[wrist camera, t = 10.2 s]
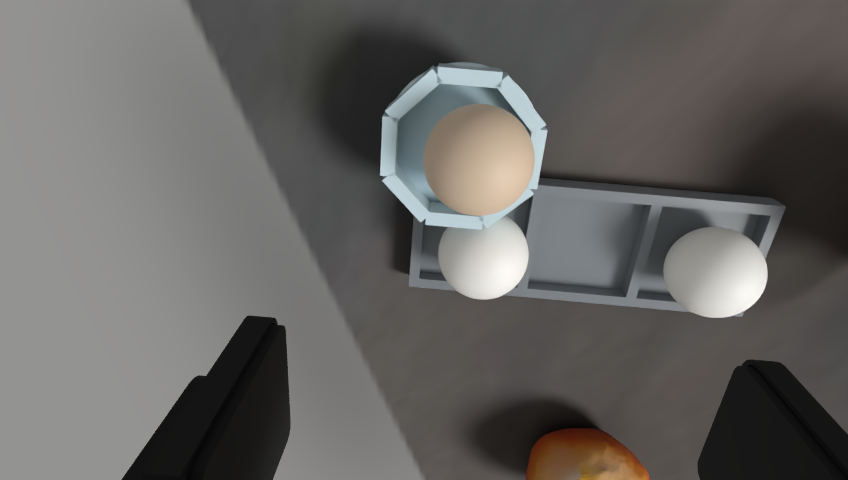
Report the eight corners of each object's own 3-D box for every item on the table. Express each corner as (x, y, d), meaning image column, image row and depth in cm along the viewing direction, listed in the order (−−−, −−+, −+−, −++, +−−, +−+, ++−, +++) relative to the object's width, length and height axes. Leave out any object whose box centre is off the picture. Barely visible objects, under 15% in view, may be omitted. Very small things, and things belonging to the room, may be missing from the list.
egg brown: (514, 96, 25) (564, 118, 21) (500, 193, 27) (543, 231, 23) (415, 92, 24) (446, 115, 20) (408, 195, 26) (435, 235, 22)
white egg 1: (506, 280, 32) (527, 320, 28) (427, 271, 32) (435, 310, 27) (524, 204, 31) (550, 233, 26) (441, 193, 30) (452, 220, 25)
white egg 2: (722, 291, 32) (767, 340, 27) (641, 284, 32) (672, 331, 27) (750, 217, 30) (803, 256, 25) (663, 209, 30) (700, 246, 25)
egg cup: (519, 200, 31) (530, 236, 26) (387, 188, 31) (376, 222, 26) (541, 62, 27) (559, 74, 23) (394, 49, 27) (382, 59, 23)
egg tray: (731, 304, 33) (742, 316, 31) (410, 275, 33) (408, 286, 32) (772, 197, 30) (786, 206, 28) (418, 167, 30) (416, 174, 29)
